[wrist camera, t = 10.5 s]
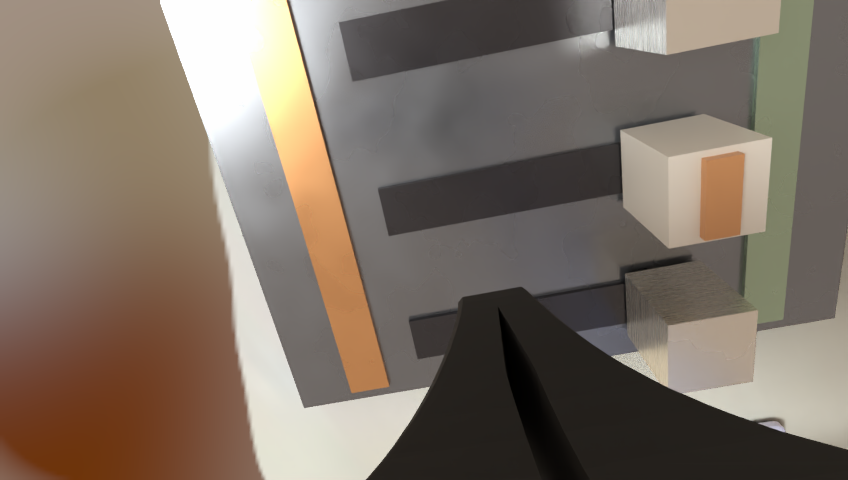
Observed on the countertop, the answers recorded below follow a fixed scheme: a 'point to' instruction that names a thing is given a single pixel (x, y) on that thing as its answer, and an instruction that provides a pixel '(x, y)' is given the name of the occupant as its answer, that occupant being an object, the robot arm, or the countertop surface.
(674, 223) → the block
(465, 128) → the breaker panel
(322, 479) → the countertop surface
